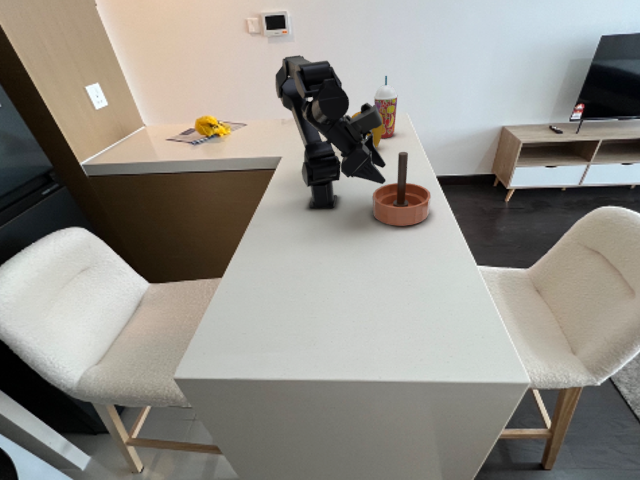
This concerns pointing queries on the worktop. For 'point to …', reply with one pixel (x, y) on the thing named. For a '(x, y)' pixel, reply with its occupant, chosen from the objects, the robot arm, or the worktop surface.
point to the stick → (401, 180)
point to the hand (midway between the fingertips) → (384, 173)
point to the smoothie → (387, 108)
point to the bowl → (401, 215)
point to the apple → (374, 131)
